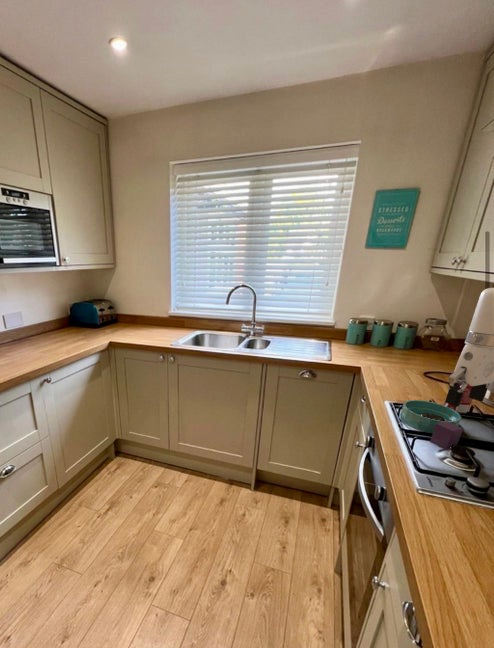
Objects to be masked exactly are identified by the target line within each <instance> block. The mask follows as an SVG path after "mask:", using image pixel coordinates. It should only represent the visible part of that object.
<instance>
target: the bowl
mask: <svg viewBox="0 0 494 648" xmlns="http://www.w3.org/2000/svg"><path fill="white" fill-rule="evenodd" d="M422 413H429V414H434V415H437V416H441V417H443V418H444V419H446V420H447V422H450V423H452V424H454V425H456V426H459V425H460V423H461V420H462V416H461V414H460V413H457V412H456V411H455V410H453V409H451V408H449V407H446V406H444V404H440V403H437V402H433V401H428V400H422V399H421V400H420V399H409V400H406V401H404V403H403V404H402V407H401V411H400V414H399V419H400V420H401V421H402V422H403V423H404V424H406V425H407V426H409V427H412V428H413V429H416V430H418V431H420V432H424V433H429V434H433V432H434V429H435V426H436V424H437V423H441V422H446V421H440V420H435V419H430V418H427V417H423V416H421V414H422Z"/></svg>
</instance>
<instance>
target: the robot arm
mask: <svg viewBox="0 0 494 648" xmlns="http://www.w3.org/2000/svg"><path fill="white" fill-rule="evenodd" d="M470 322H471V323H470V325H469V328H468V332H467V333H466V334H467V335H466V338H465V340H464V344H465V345H464V347H463V348H462V351H461V353H460V355H459V358H458V359H457V363H456V365H455V368H454V370H453V372H452V373H451V374H450V375H449V376H448V387H447V389H448V391H447V394H446V397H445V400H444V403H445V402H446V403H448V404H450V405H453V406H456V407H458V406H459V405H460V402H461V399H462V397H463V394H464V393H463V392H462V391H463V390H464V389H465V388H466V386H467V385H468V384H469V385H470V386H472V388H471V391H470V394H469V398H471V399H472V400H474V401H477V402H483V401H484V399H485V396H486V394H487V391H488V388H489V387H490V386H491V383H493V382H494V287H488V288H486V289H484V290H482V292H480V295H479V298H478V301H477V303H476V307H475V309H474V313H473V316H472V320H471V321H470ZM464 380H466V381H464ZM458 383H461V384H462V385H461V386H459V384H458Z"/></svg>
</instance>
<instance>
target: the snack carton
mask: <svg viewBox="0 0 494 648" xmlns="http://www.w3.org/2000/svg"><path fill="white" fill-rule="evenodd" d="M463 431H464V428H463V427H461V426H459V425H458V426H456V425H454V424H452V423H450V422H447V421H446V422H441V423H437V424H436V426H435V429H434V432H433V433H431V434H432V435H431V436H430V440H429V443H431V444H433V445H435V446H437V447H439V448H441V449H443V450H445V451H449V450H451V449H450V447H451V445H457V446H458V444H459V442H460V438H461V436H462V433H463Z"/></svg>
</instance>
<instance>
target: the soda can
mask: <svg viewBox="0 0 494 648" xmlns="http://www.w3.org/2000/svg"><path fill="white" fill-rule="evenodd" d="M464 381H466V380H464ZM458 384H459V386H461V385H462V384H461V383H458ZM471 388H472V386H470V385H469V384H468V385H467V386H466V388H465V389H464V390H463V391H462V392H463V393H464V394H463V397H462V399H461V402H460V405H459V406H458V407H456V406H453V405H450V404H448V403H446V402H445V401H444V403H443V406H446V407H449V408H451V409H453V410H455V411H456V412H457V413H459V414H460V415H462V414H463V415H465V414H467V413H468V411H469V409H470V407H471V405H472V402H473V399H471V398H469V394H470V391H471Z"/></svg>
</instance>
